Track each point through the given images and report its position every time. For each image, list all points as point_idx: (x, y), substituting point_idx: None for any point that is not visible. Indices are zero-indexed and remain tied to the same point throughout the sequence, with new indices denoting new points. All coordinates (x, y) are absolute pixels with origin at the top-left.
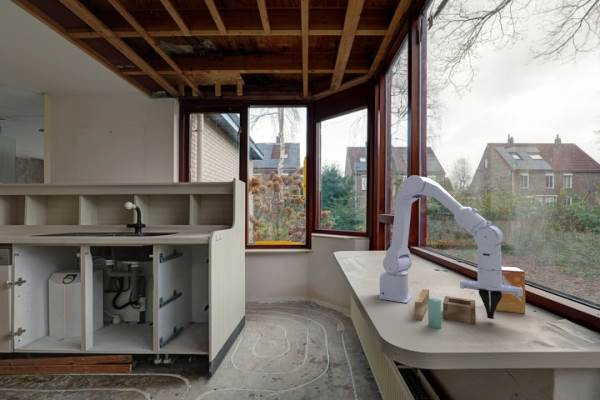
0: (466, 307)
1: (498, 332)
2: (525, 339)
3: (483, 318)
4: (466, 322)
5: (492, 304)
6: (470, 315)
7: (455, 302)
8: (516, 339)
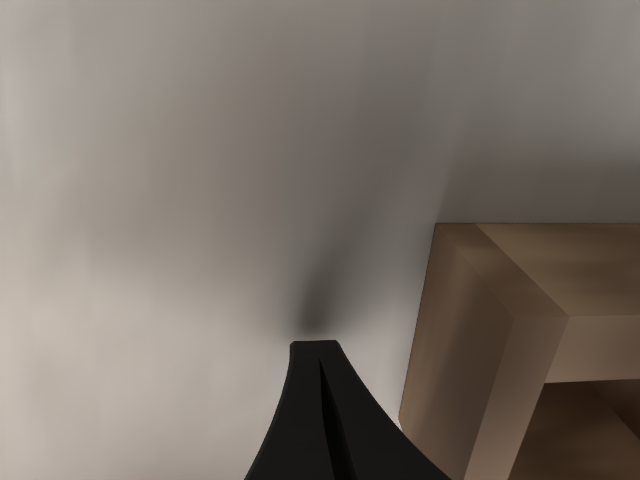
0: (603, 311)
1: (261, 128)
2: (18, 61)
3: None
4: (508, 227)
5: (313, 454)
6: (514, 261)
7: (604, 461)
8: (98, 6)
